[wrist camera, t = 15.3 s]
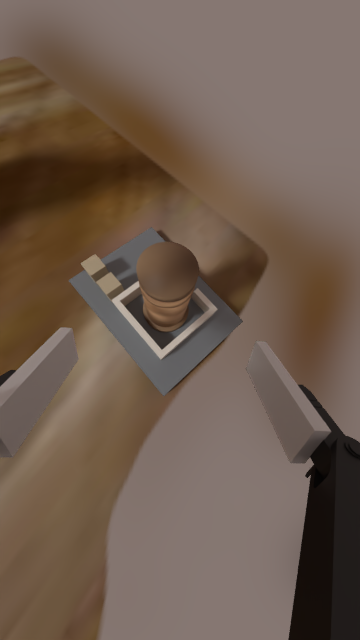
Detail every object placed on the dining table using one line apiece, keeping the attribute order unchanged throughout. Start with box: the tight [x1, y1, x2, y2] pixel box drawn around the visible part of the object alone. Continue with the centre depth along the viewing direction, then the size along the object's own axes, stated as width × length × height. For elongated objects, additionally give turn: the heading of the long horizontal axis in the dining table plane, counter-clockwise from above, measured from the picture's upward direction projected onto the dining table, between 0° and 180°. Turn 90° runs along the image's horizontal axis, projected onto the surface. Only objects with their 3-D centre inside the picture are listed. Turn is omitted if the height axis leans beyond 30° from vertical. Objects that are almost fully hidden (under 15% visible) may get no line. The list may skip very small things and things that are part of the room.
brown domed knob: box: [136, 242, 199, 332], centre depth 23 cm, size 7×7×12 cm
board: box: [69, 227, 243, 396], centre depth 28 cm, size 22×16×4 cm
